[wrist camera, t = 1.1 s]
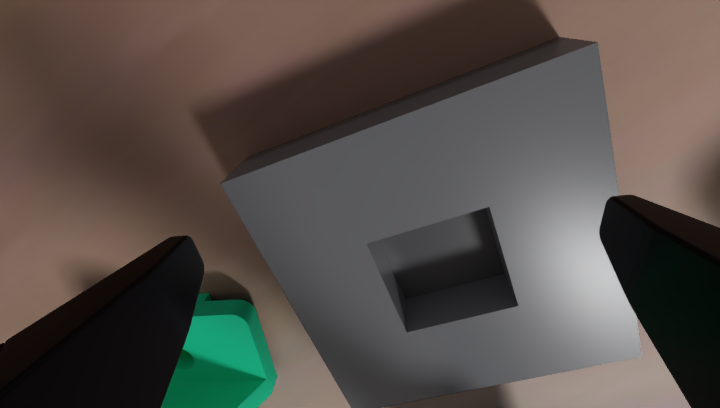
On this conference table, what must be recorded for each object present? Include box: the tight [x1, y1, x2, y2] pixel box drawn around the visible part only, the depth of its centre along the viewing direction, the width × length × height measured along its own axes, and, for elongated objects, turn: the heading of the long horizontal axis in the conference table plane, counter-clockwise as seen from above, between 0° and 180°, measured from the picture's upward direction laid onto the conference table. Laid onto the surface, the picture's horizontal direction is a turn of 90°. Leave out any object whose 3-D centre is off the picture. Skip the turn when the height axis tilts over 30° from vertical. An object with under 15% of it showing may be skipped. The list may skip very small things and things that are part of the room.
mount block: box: [220, 37, 642, 408], centre depth 23 cm, size 18×18×4 cm
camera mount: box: [161, 293, 277, 408], centre depth 26 cm, size 12×8×10 cm, turn 98°
